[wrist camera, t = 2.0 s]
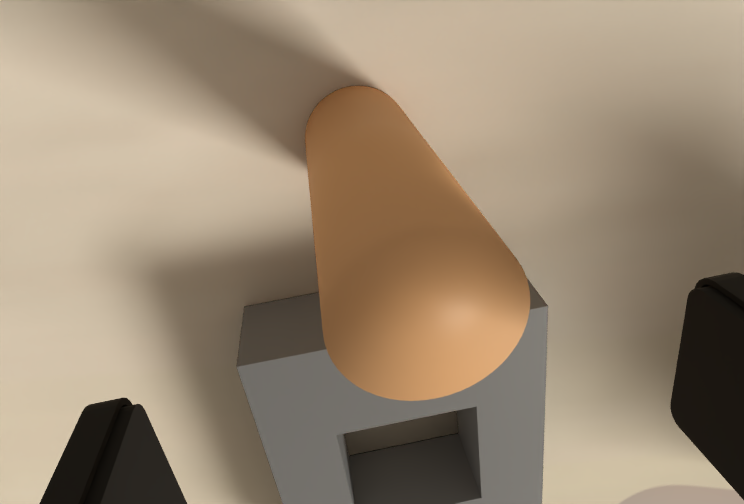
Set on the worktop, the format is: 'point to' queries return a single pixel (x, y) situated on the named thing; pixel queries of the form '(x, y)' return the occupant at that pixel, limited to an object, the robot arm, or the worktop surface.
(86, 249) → the worktop surface
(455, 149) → the worktop surface
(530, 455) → the hole block
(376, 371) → the long pin
